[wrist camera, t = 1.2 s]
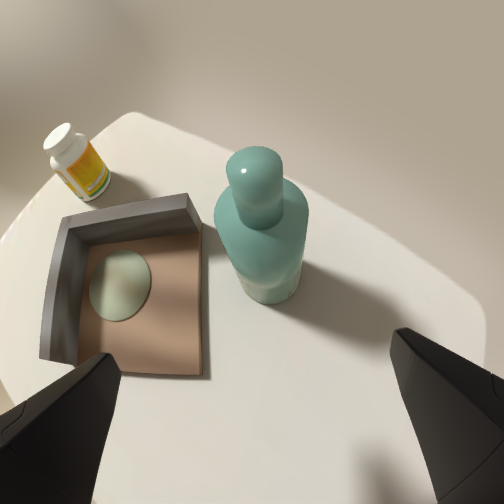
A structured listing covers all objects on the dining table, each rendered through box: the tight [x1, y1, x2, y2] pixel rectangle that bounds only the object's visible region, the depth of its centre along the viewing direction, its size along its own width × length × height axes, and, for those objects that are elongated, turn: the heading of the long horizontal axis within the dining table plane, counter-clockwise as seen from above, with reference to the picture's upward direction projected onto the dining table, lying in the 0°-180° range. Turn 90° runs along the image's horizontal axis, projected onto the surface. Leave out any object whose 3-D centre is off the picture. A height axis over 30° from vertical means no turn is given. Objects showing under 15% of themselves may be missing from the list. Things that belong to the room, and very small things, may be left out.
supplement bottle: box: [44, 123, 111, 201], centre depth 27 cm, size 5×5×10 cm
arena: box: [39, 193, 202, 375], centre depth 22 cm, size 14×14×5 cm
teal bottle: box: [214, 146, 309, 305], centre depth 18 cm, size 5×5×14 cm
